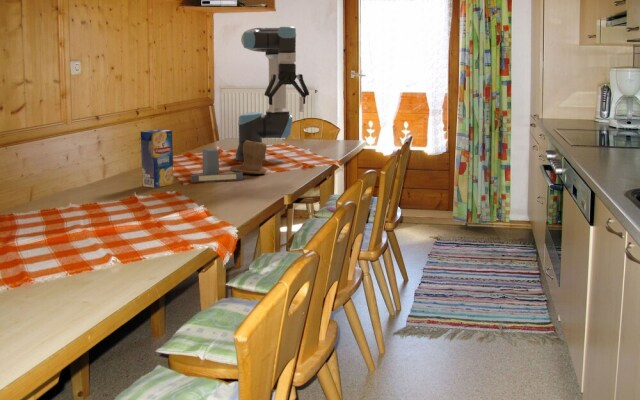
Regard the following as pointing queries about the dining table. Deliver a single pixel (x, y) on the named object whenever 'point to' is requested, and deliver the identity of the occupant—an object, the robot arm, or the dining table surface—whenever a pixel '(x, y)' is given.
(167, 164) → the blue food box
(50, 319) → the dining table surface
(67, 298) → the dining table surface
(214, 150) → the slate carton
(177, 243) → the dining table surface
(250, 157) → the brown piece
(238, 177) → the rail
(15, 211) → the dining table surface
